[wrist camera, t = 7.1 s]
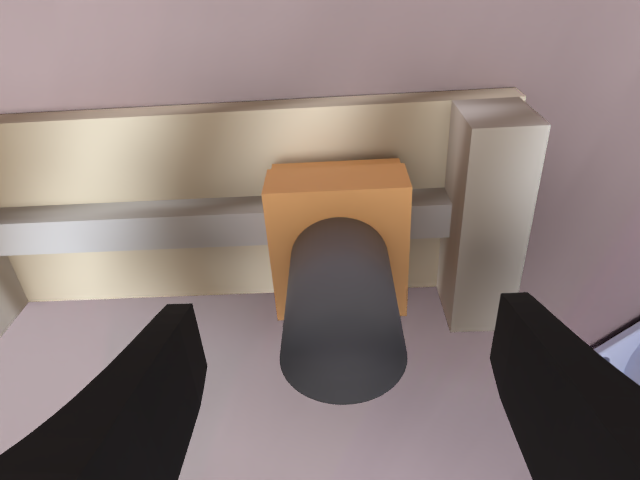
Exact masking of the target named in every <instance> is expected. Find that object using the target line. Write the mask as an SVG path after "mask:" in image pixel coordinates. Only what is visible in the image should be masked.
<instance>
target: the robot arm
mask: <svg viewBox="0 0 640 480" xmlns="http://www.w3.org/2000/svg"><path fill="white" fill-rule="evenodd" d="M490 361H491V365H492V369H493V373H494V377H495V381H496V384H497V388H498V392H499V396H500V399H501V402H502V404H503V407H504V409H505V412H506V414H507V417H508V419H509V422H510V425H511V427H512V430H513V432H514V435H515V437H516V440H517V442H518V444H519V447H520V449H521V452H522V454H523V457H524V459H525V462H526V464H527V467H528V469H529V472H530V474H531V477H532V479H533V480H640V321H639V322H638V323H636V324H634V325H633V326H631V327H629V328H628V329H626V330H624V331H623V332H621V333H620V334H618V335H616V336H615V337H613V338H611V339H610V340H608V341H607V342H605V343H603V344H602V345H600V346H598V347H597V348H595V349H592V348H591V347H590V346H589V345H587V344H586V343H585V342H584V341H583V340H582V339H580V338H579V337H578V336H577V335H576V334H575V333H573V332H572V331H571V330H570V329H569V328H568V327H567V326H565V325H564V324H563V323H562V322H561V321H560V320H559V319H557V318H556V317H555V316H554V315H553V314H552V313H551V312H550V311H548V310H547V309H546V308H545V307H544V306H543V305H542V304H541V303H540V302H538V301H537V300H536V299H535V298H534V297H533V296H531V295H530V294H529V293H528V292H523V293H501V295H500V301H499V307H498V313H497V319H496V325H495V331H494V337H493V343H492V348H491V354H490ZM206 371H207V363H206V359H205V354H204V350H203V346H202V342H201V338H200V334H199V330H198V325H197V321H196V317H195V313H194V309H193V305H192V304H167V305H166V306H165V307H164V308H163V309H162V310H161V311H160V312H159V313H158V314H157V315H156V316H155V317H154V318H153V319H152V320H151V322H150V323H149V324H148V325H147V326H146V327H145V328H144V329H143V330H142V331H141V332H140V333H139V334H138V335H137V336H136V337H135V338H134V339H133V341H132V342H131V343H130V344H129V345H128V346H127V347H126V348H125V349H124V350H123V351H122V352H121V353H120V354H119V355H118V356H117V357H116V358H115V359H114V360H113V361H112V362H111V363H110V364H109V365H108V366H107V367H106V368H105V369H104V370H103V371H102V372H101V373H100V374H99V375H98V376H97V377H95V378H94V379H93V380H92V381H91V382H90V383H89V384H88V385H87V386H86V387H85V388H84V389H83V390H82V391H80V392H79V393H78V394H77V395H76V396H75V397H74V398H73V399H72V400H71V401H69V402H68V403H67V404H66V405H65V406H64V407H62V408H61V409H60V410H59V411H58V412H56V413H55V414H54V415H53V416H52V417H50V418H49V419H48V420H47V421H45V422H44V423H43V424H42V425H40V426H39V427H38V428H36V429H35V430H34V431H33V432H31V433H30V434H29V435H27V436H26V437H25V438H24V439H22V440H21V441H19V442H18V443H17V444H15V445H14V446H12V447H11V448H9V449H8V450H7V451H5V452H4V453H2V454H1V455H0V480H178V478H179V475H180V472H181V468H182V465H183V462H184V459H185V455H186V452H187V449H188V446H189V442H190V439H191V436H192V433H193V429H194V426H195V423H196V419H197V416H198V413H199V409H200V406H201V400H202V395H203V389H204V383H205V377H206Z"/></svg>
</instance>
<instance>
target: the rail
mask: <svg viewBox="0 0 640 480" xmlns="http://www.w3.org/2000/svg"><path fill="white" fill-rule="evenodd" d="M525 100H526V96H525V95H524V94H523V93H521V92H520V91H519V90H518V89H517V88H516V87H514V88H494V89H475V90H456V91H437V92H418V93H399V94H380V95H361V96H342V97H323V98H304V99H285V100H265V101H246V102H227V103H208V104H189V105H170V106H151V107H132V108H113V109H94V110H75V111H56V112H36V113H17V114H0V338H1V336H2V335H3V334H4V333H5V331H6V330H7V329H8V327H9V326H10V325H11V324H12V322H13V321H14V320H15V319H16V317H17V316H18V315H19V314H20V312H21V311H22V310H23V309H24V307H25V306H26V305H27V303H28V302H39V301H66V300H92V299H119V298H145V297H172V296H198V295H225V294H252V293H274V288H273V280H272V272H271V265H270V257H269V249H268V242H267V234H266V226H265V219H264V211H263V203H262V196H261V193H262V189H263V185H264V181H265V177H266V173H267V169H271V167H272V164H284V163H305V162H326V161H347V160H369V159H390V158H399V159H400V163H405V166H406V169H407V172H408V175H409V178H410V181H411V184H412V209H411V231H410V253H409V275H408V288H411V287H437V290H438V294H439V297H440V300H441V304H442V307H443V310H444V313H445V317H446V320H447V323H448V326H449V330H450V332H476V331H495V325H496V319H497V313H498V307H499V301H500V295H501V293H519V288H520V283H521V278H522V273H523V268H524V262H525V257H526V252H527V247H528V242H529V236H530V231H531V226H532V221H533V216H534V210H535V205H536V200H537V195H538V190H539V184H540V179H541V174H542V169H543V164H544V159H545V153H546V148H547V143H548V138H549V133H550V127H551V125H550V124H549V123H548V122H547V121H546V120H545V119H544V118H543V117H541V116H540V115H539V114H538V113H537V112H536V111H535V110H534V109H532V108H531V107H530V106H529V105H528V104H527V103H526V102H525Z"/></svg>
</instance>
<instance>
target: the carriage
mask: <svg viewBox="0 0 640 480" xmlns="http://www.w3.org/2000/svg"><path fill="white" fill-rule="evenodd" d="M261 196H262V203H263V211H264V219H265V226H266V234H267V242H268V249H269V257H270V265H271V272H272V280H273V288H274V295H275V303H276V311H277V318H278V320H284V323H283V333H282V342H281V351H280V366H281V370H282V372H283V375H284V376H285V378H286V380H287V381H288V382H289V383H290V385H291V386H292V387H293V388H295V389H296V390H297V391H298V392H300V393H301V394H303V395H305V396H307V397H309V398H311V399H314V400H316V401H320V402H324V403H329V404H337V405H347V404H356V403H362V402H366V401H369V400H372V399H375V398H377V397H379V396H381V395H383V394H384V393H386V392H388V391H389V390H390V389H391V388H393V387H394V386H395V385H396V384H397V383H398V381H399V380H400V379H401V377H402V375H403V373H404V372H405V369H406V365H407V351H406V345H405V340H404V335H403V330H402V324H401V319H400V316H407V297H408V275H409V253H410V231H411V209H412V184H411V181H410V178H409V175H408V172H407V169H406V166H405V163H400V159H399V158H390V159H369V160H347V161H326V162H305V163H284V164H272V167H271V169H267V173H266V177H265V181H264V185H263V189H262V193H261Z"/></svg>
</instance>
